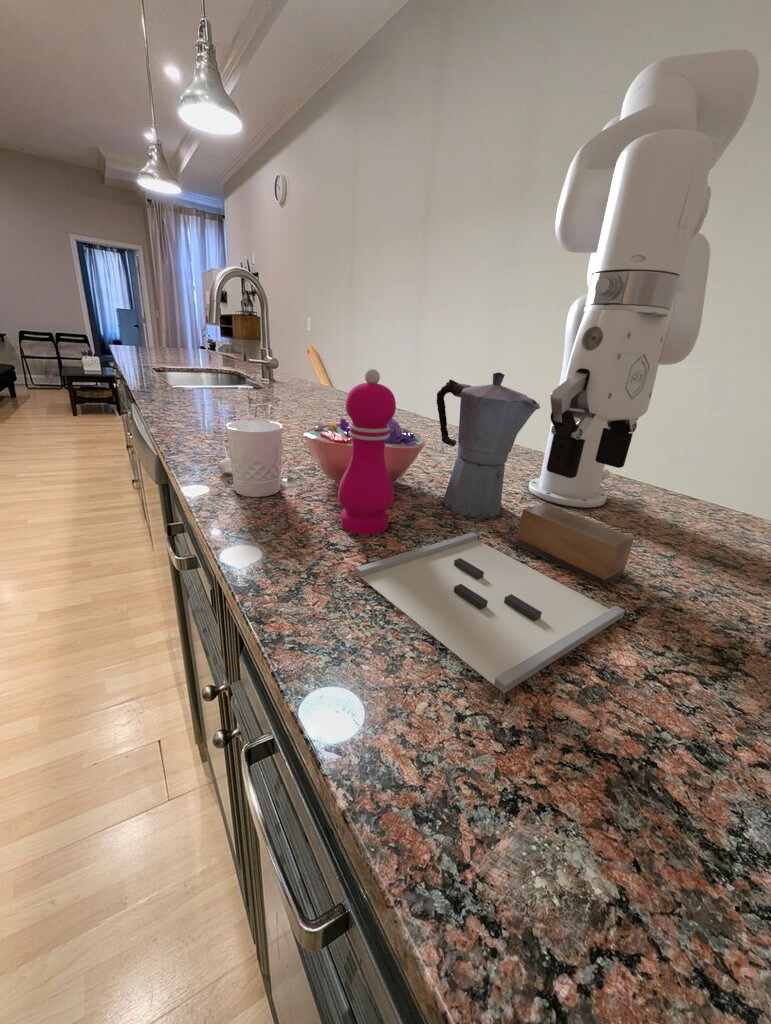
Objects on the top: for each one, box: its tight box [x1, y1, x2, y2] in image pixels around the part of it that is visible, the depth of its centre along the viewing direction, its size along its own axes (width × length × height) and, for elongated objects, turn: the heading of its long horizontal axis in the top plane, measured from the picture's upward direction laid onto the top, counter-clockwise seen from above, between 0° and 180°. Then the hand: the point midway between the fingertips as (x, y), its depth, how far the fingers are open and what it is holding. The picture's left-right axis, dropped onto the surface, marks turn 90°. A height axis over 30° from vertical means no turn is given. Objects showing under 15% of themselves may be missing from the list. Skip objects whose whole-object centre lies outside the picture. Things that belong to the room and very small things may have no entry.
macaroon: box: [217, 457, 233, 475], centre depth 74 cm, size 4×5×2 cm
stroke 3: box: [504, 594, 542, 621], centre depth 43 cm, size 4×1×1 cm, turn 37°
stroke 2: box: [454, 584, 488, 610], centre depth 44 cm, size 4×1×1 cm, turn 37°
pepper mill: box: [337, 368, 397, 535], centre depth 55 cm, size 7×7×20 cm
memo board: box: [355, 532, 626, 694], centre depth 45 cm, size 18×20×1 cm
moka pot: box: [436, 371, 541, 518], centre depth 64 cm, size 10×15×20 cm, turn 58°
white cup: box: [225, 419, 283, 498], centre depth 67 cm, size 8×8×10 cm
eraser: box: [515, 502, 635, 587], centre depth 53 cm, size 4×12×5 cm, turn 37°
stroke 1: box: [454, 558, 484, 579], centre depth 49 cm, size 4×1×1 cm, turn 37°
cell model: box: [302, 417, 427, 483], centre depth 74 cm, size 17×20×11 cm
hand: (586, 469), depth 49 cm, fingers open, 9 cm apart
